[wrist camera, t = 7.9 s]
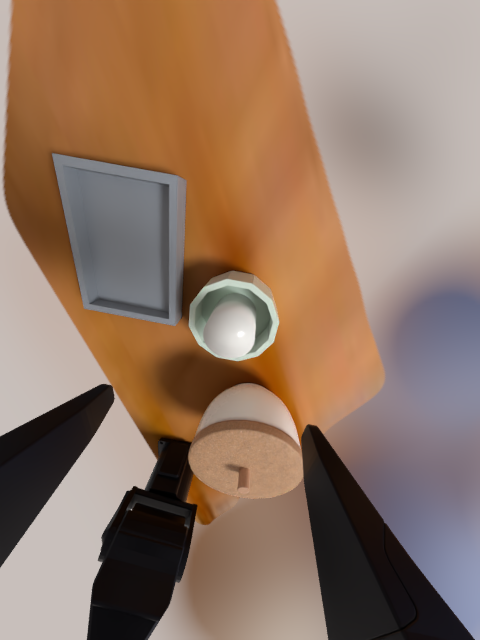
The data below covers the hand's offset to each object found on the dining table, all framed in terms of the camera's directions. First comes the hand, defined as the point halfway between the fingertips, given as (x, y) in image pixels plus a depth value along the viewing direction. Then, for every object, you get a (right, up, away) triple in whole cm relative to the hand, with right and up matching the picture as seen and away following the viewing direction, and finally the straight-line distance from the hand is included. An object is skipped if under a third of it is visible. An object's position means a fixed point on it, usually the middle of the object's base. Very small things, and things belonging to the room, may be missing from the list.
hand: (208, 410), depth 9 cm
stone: (+1, +5, +10) cm, 11 cm away
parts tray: (-8, +10, +9) cm, 16 cm away
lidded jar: (+3, -6, +16) cm, 18 cm away
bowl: (+1, +5, +11) cm, 12 cm away
